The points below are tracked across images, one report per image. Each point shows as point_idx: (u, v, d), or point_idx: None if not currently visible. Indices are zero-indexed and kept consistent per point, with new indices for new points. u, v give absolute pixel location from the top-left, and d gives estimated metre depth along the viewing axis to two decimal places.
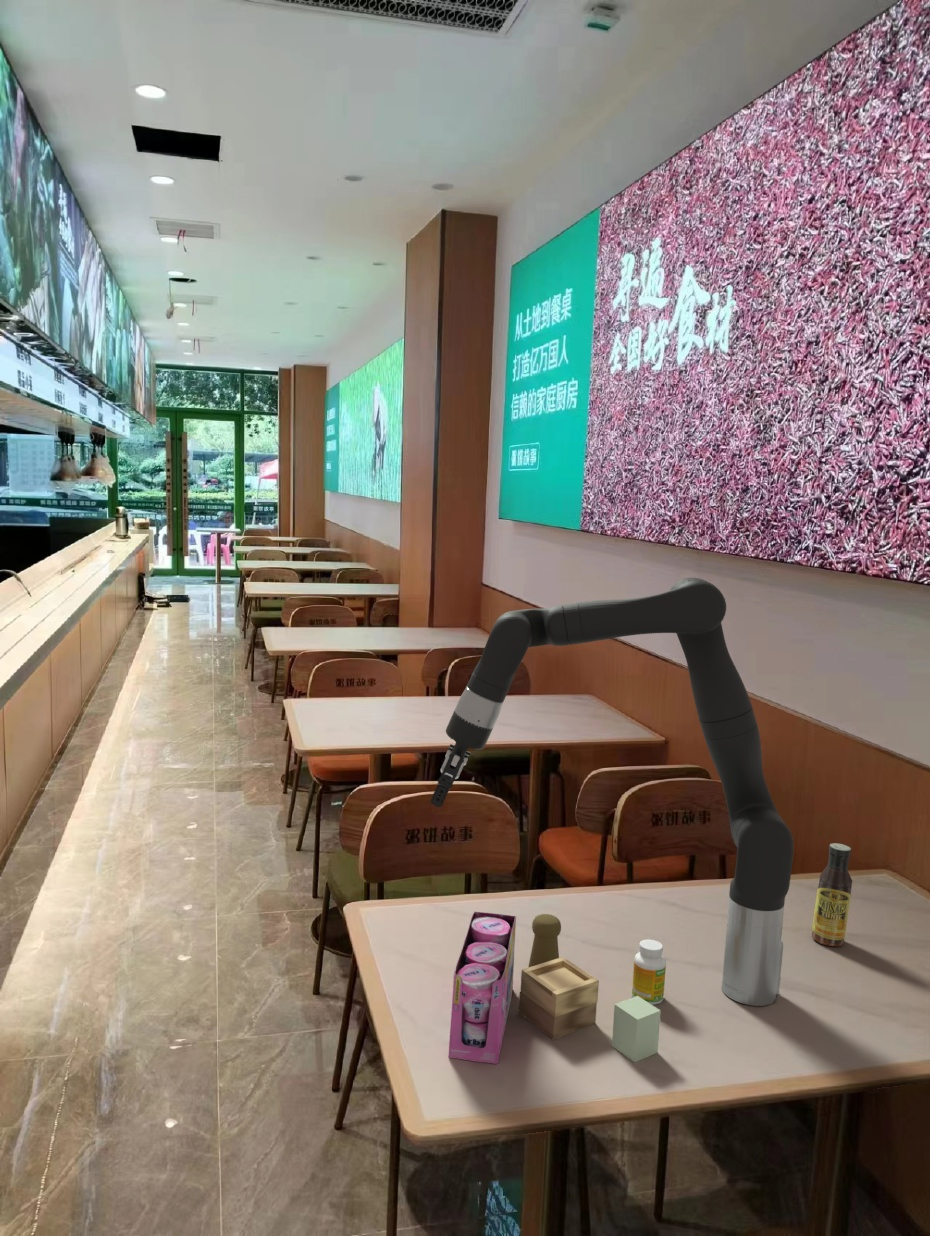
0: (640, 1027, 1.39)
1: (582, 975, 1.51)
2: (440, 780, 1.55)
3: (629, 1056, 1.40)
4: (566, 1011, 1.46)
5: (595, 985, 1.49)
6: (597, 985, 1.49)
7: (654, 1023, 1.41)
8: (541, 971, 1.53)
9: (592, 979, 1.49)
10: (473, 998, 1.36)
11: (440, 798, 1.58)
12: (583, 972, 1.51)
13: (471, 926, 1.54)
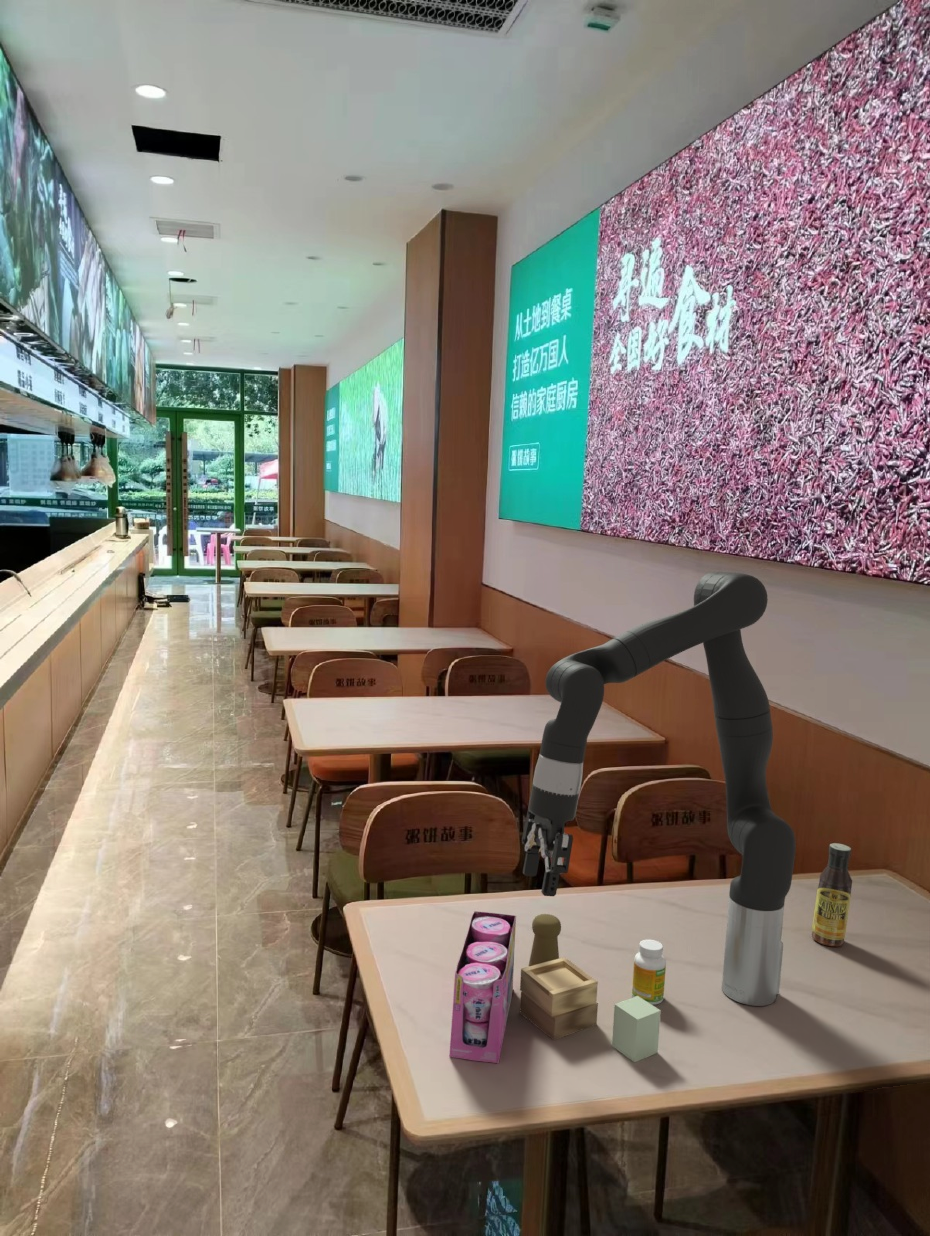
0: (640, 1027, 1.39)
1: (581, 976, 1.50)
2: (555, 868, 1.38)
3: (629, 1056, 1.40)
4: (563, 1011, 1.46)
5: (593, 986, 1.48)
6: (596, 986, 1.49)
7: (654, 1023, 1.41)
8: (541, 971, 1.53)
9: (591, 980, 1.49)
10: (474, 997, 1.36)
11: (554, 886, 1.40)
12: (583, 973, 1.51)
13: (471, 926, 1.54)
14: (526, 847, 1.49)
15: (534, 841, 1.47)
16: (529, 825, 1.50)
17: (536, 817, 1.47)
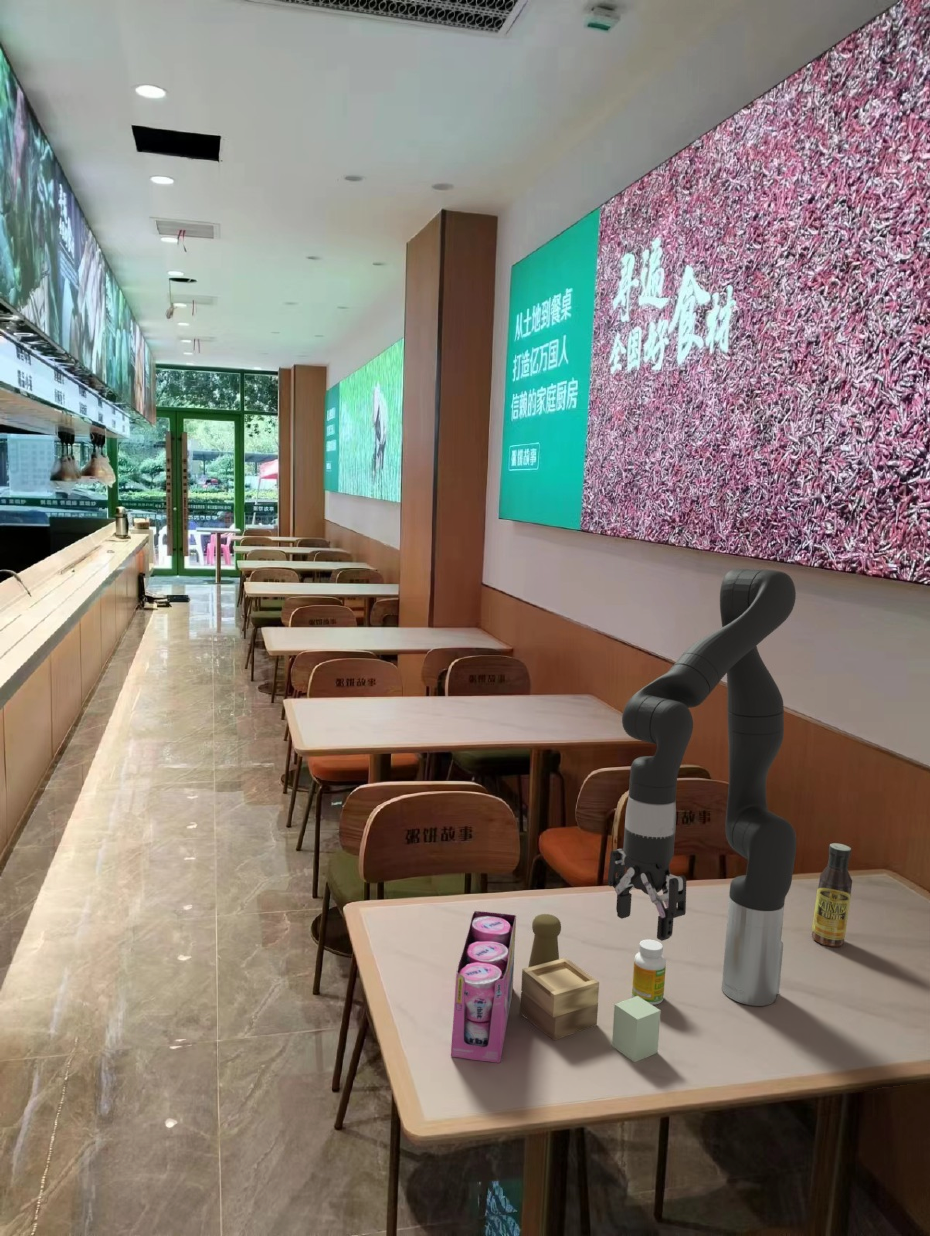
0: (640, 1027, 1.39)
1: (583, 976, 1.50)
2: (675, 913, 1.34)
3: (629, 1056, 1.40)
4: (565, 1012, 1.45)
5: (595, 987, 1.48)
6: (597, 987, 1.48)
7: (654, 1023, 1.41)
8: (542, 971, 1.52)
9: (592, 981, 1.48)
10: (476, 997, 1.36)
11: (670, 929, 1.36)
12: (584, 974, 1.51)
13: (472, 925, 1.55)
14: (618, 890, 1.43)
15: (628, 883, 1.42)
16: (616, 867, 1.44)
17: (628, 859, 1.41)
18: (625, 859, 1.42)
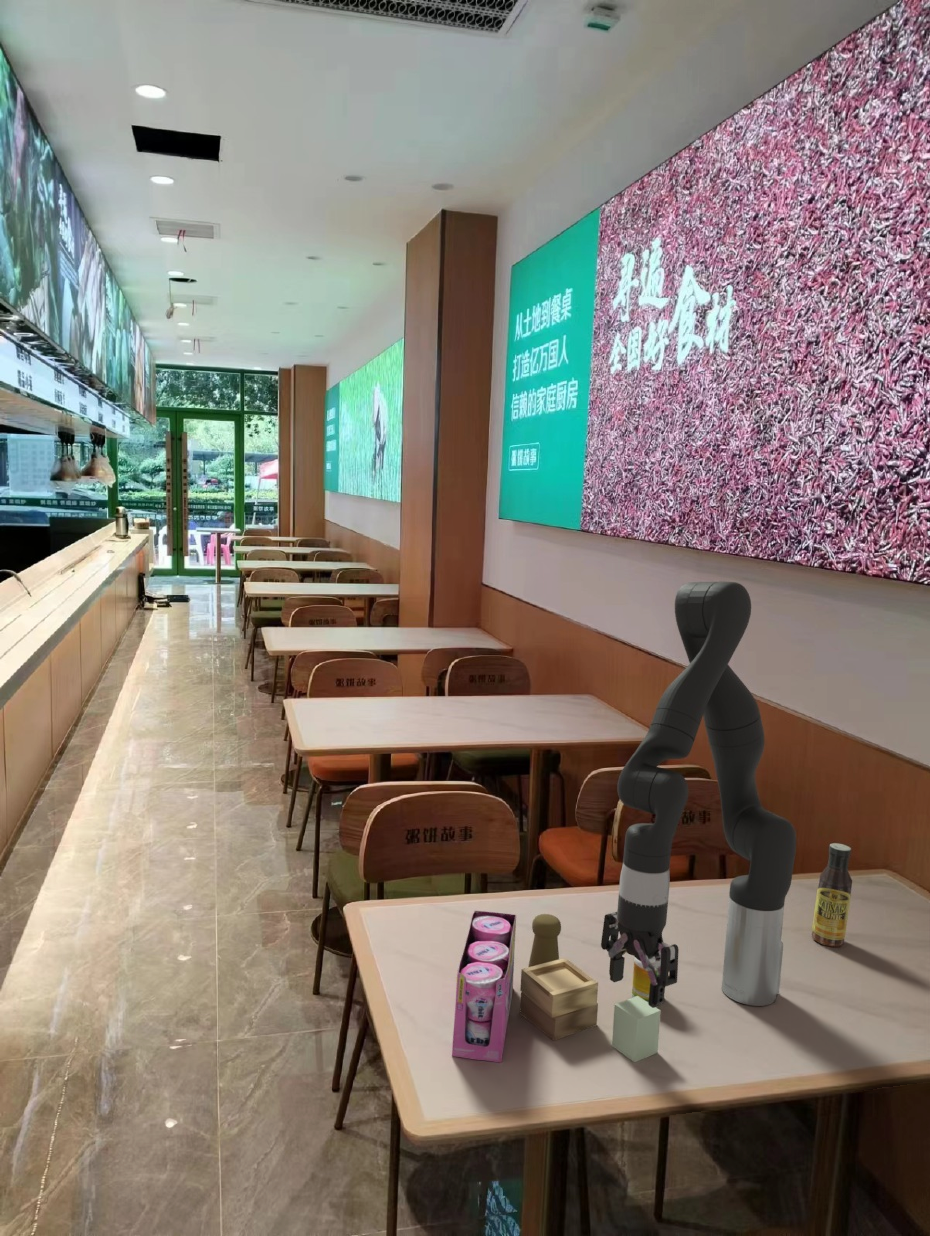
0: (640, 1027, 1.39)
1: (582, 977, 1.50)
2: (667, 982, 1.35)
3: (629, 1056, 1.40)
4: (563, 1012, 1.45)
5: (594, 987, 1.48)
6: (596, 987, 1.48)
7: (654, 1023, 1.41)
8: (541, 971, 1.52)
9: (591, 981, 1.48)
10: (477, 996, 1.36)
11: (662, 997, 1.38)
12: (583, 974, 1.51)
13: (472, 925, 1.55)
14: (611, 954, 1.45)
15: (621, 948, 1.43)
16: (609, 930, 1.45)
17: (621, 925, 1.43)
18: (619, 924, 1.43)
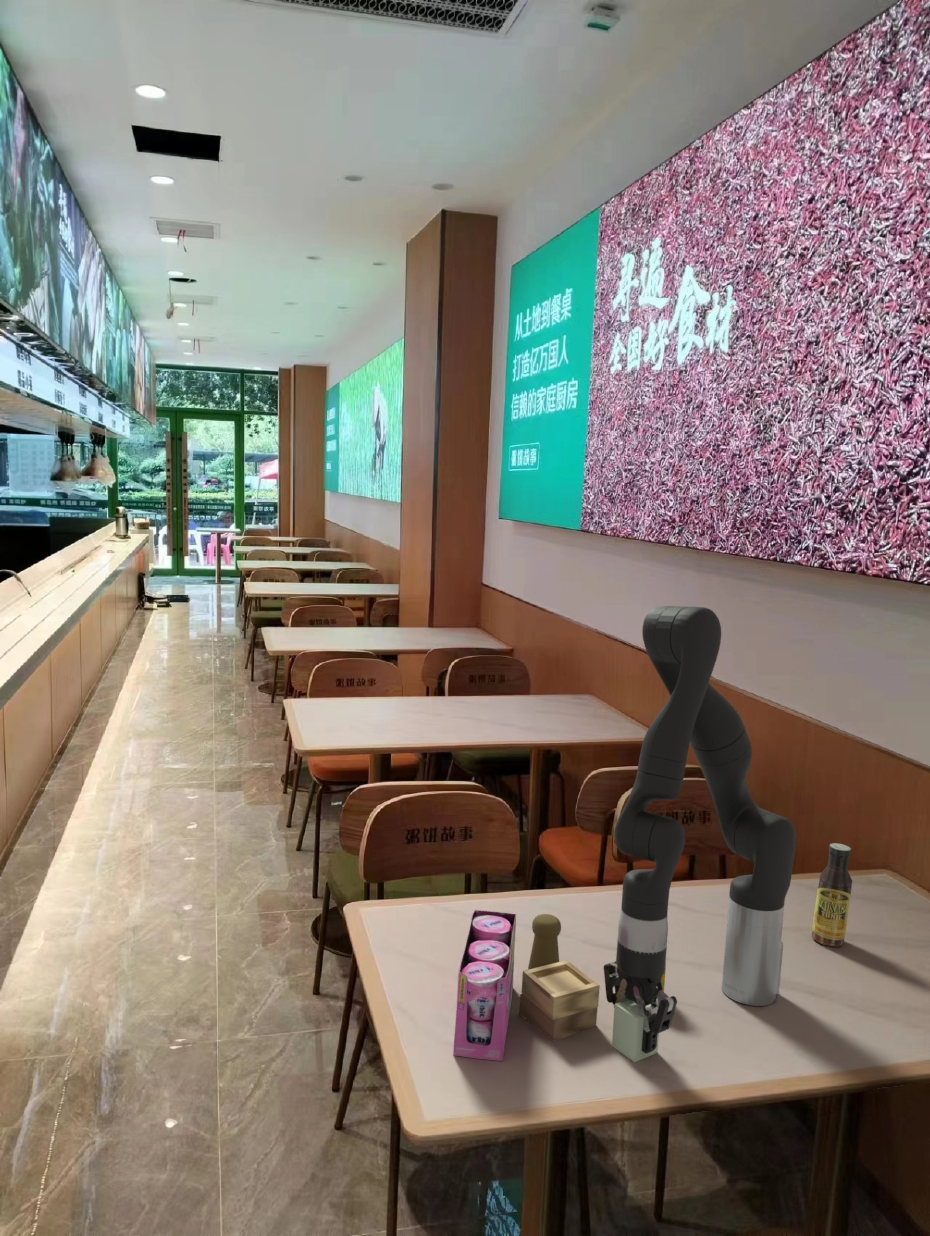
0: (640, 1027, 1.39)
1: (583, 979, 1.50)
2: (659, 1030, 1.37)
3: (629, 1056, 1.40)
4: (564, 1014, 1.45)
5: (595, 990, 1.47)
6: (598, 990, 1.48)
7: None
8: (543, 973, 1.52)
9: (593, 984, 1.48)
10: (478, 996, 1.36)
11: (655, 1043, 1.40)
12: (585, 976, 1.50)
13: (472, 924, 1.55)
14: None
15: (625, 998, 1.43)
16: (611, 981, 1.46)
17: (620, 969, 1.43)
18: (617, 970, 1.44)
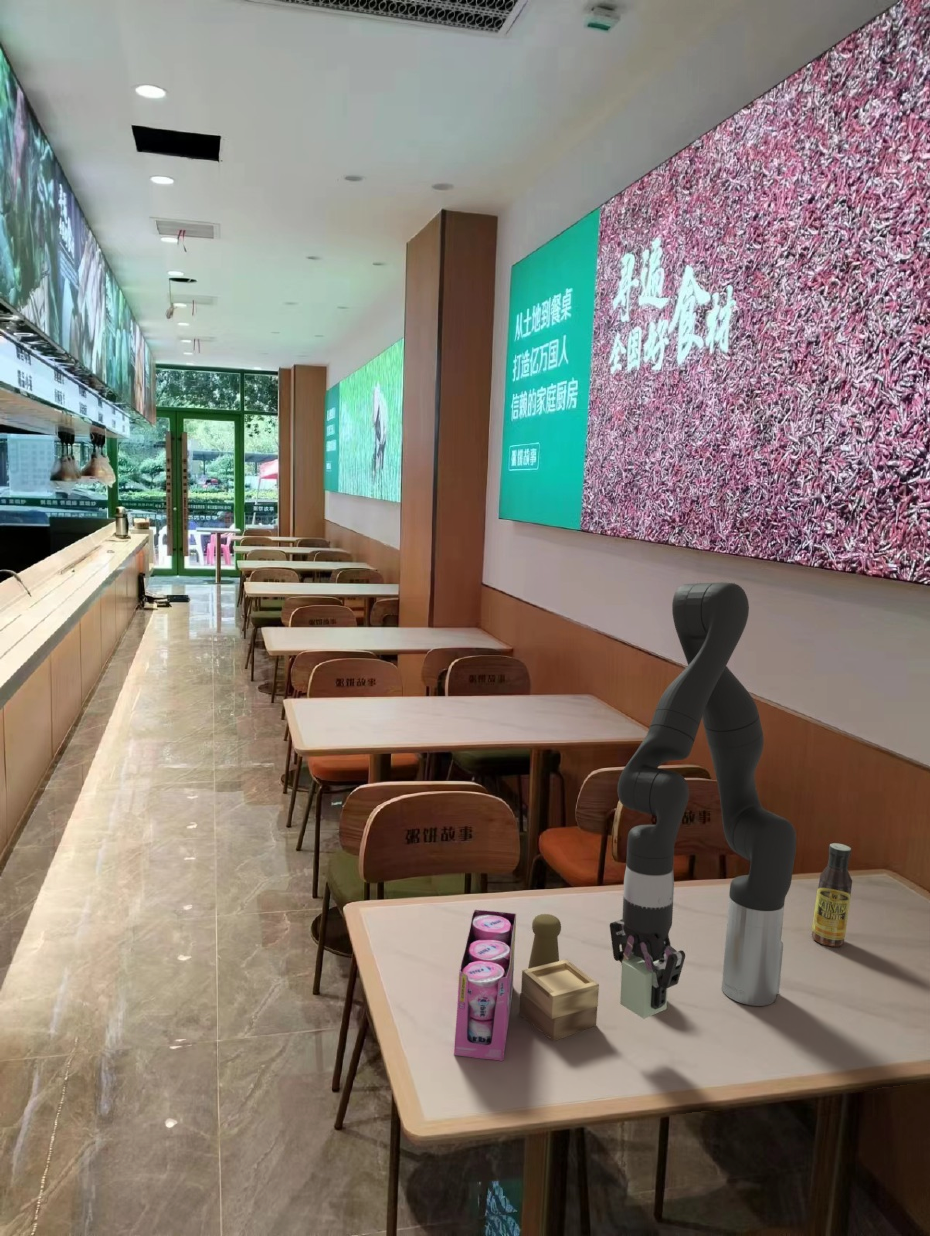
0: (649, 983, 1.38)
1: (583, 978, 1.50)
2: (668, 985, 1.36)
3: (638, 1013, 1.39)
4: (564, 1013, 1.45)
5: (595, 989, 1.47)
6: (597, 989, 1.48)
7: None
8: (542, 972, 1.52)
9: (592, 983, 1.48)
10: (479, 995, 1.36)
11: (664, 998, 1.39)
12: (584, 975, 1.50)
13: (472, 924, 1.55)
14: None
15: (632, 955, 1.42)
16: (617, 939, 1.44)
17: (626, 926, 1.42)
18: (624, 927, 1.43)
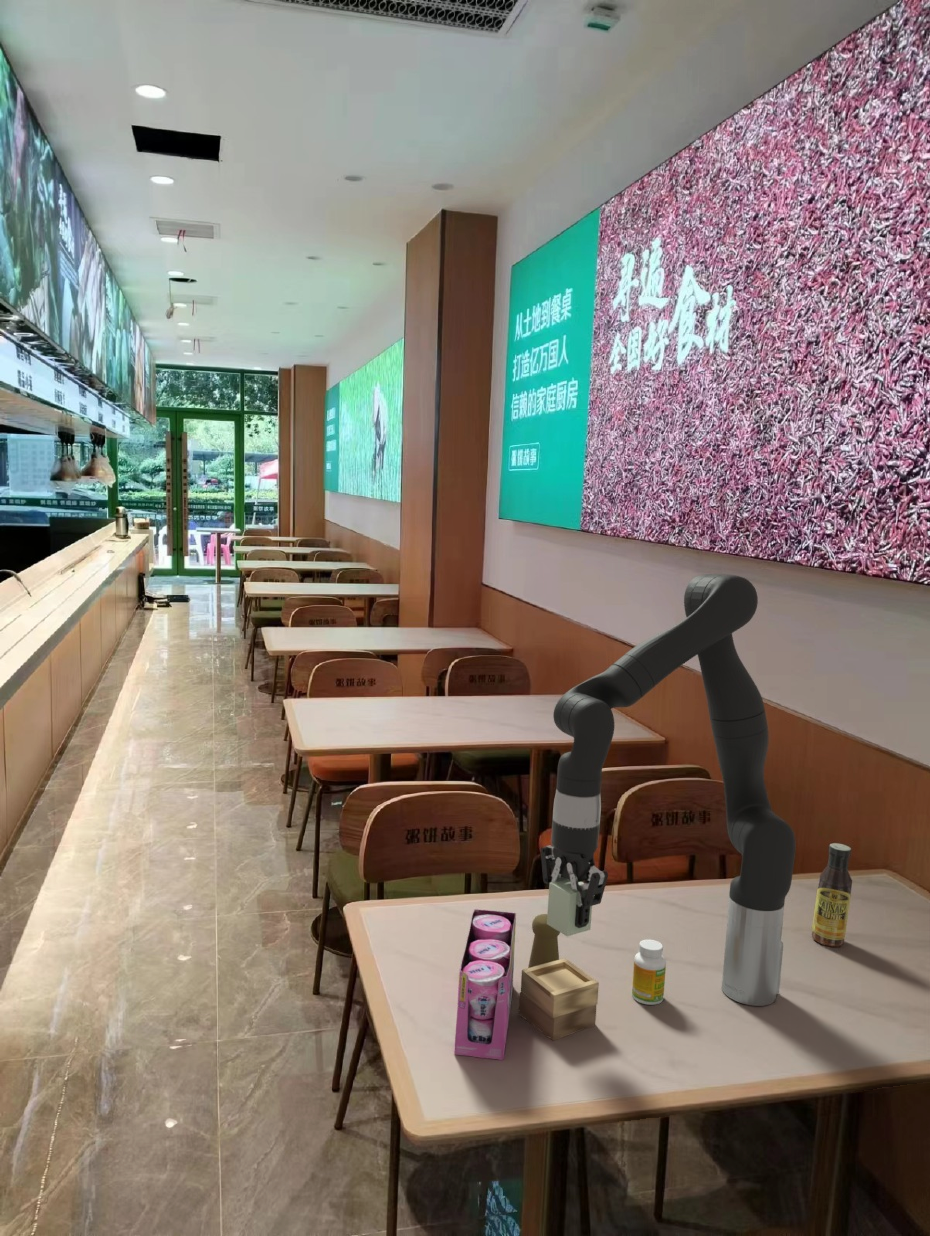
0: (573, 902, 1.44)
1: (582, 977, 1.50)
2: (591, 903, 1.42)
3: (562, 931, 1.45)
4: (564, 1012, 1.45)
5: (594, 987, 1.48)
6: (597, 987, 1.48)
7: None
8: (542, 972, 1.52)
9: (592, 981, 1.48)
10: (479, 995, 1.36)
11: (587, 917, 1.44)
12: (583, 974, 1.50)
13: (472, 924, 1.55)
14: None
15: (560, 877, 1.48)
16: (547, 862, 1.50)
17: (555, 849, 1.48)
18: (553, 850, 1.49)
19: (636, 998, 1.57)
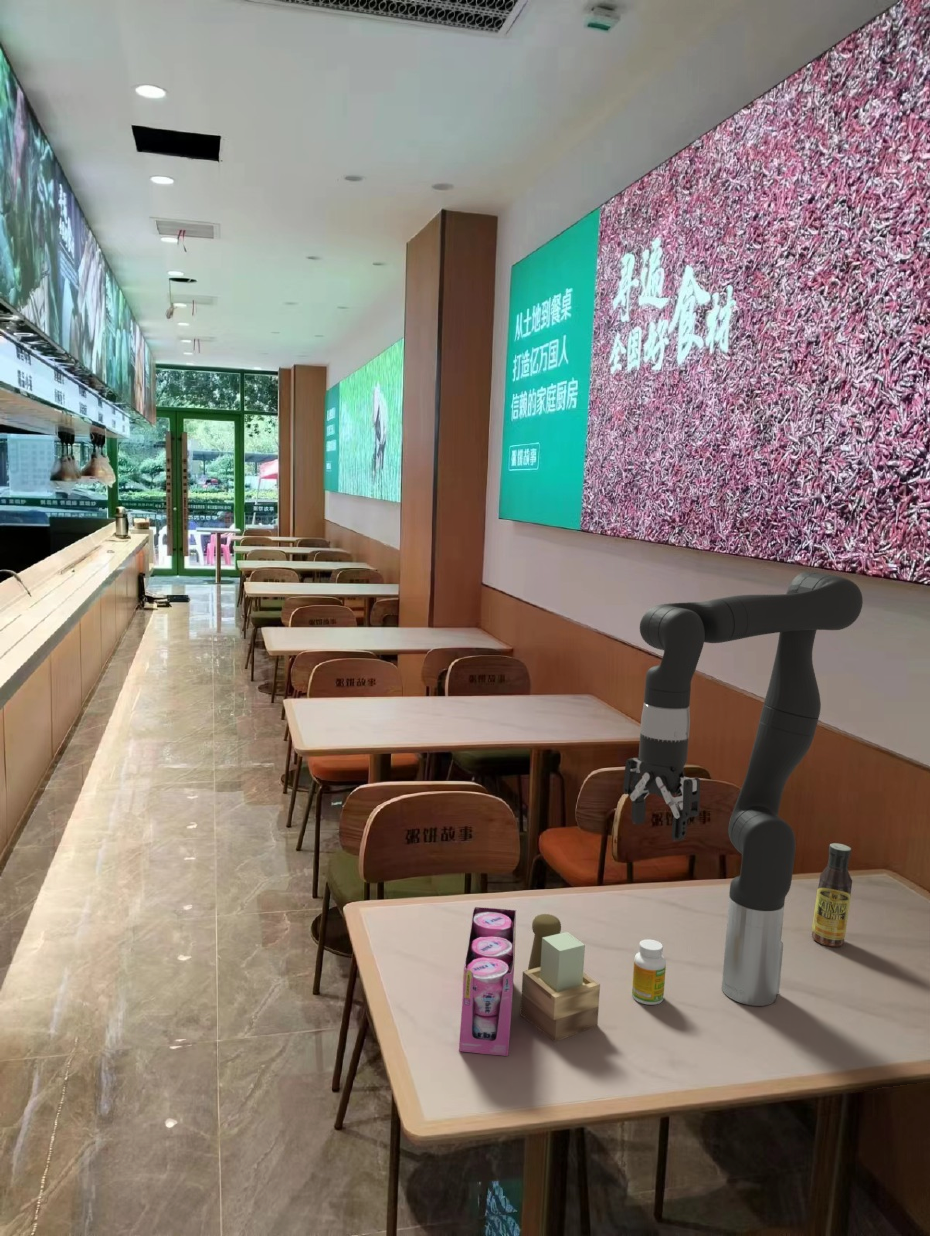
0: (563, 959, 1.46)
1: (584, 979, 1.50)
2: (689, 813, 1.39)
3: (553, 986, 1.47)
4: (565, 1014, 1.45)
5: (596, 989, 1.47)
6: (598, 989, 1.48)
7: (578, 956, 1.47)
8: None
9: (593, 983, 1.48)
10: (484, 991, 1.37)
11: (684, 830, 1.41)
12: (585, 976, 1.50)
13: (473, 921, 1.56)
14: (633, 797, 1.48)
15: (643, 790, 1.47)
16: (631, 775, 1.49)
17: (643, 766, 1.46)
18: (640, 766, 1.47)
19: (636, 998, 1.57)
